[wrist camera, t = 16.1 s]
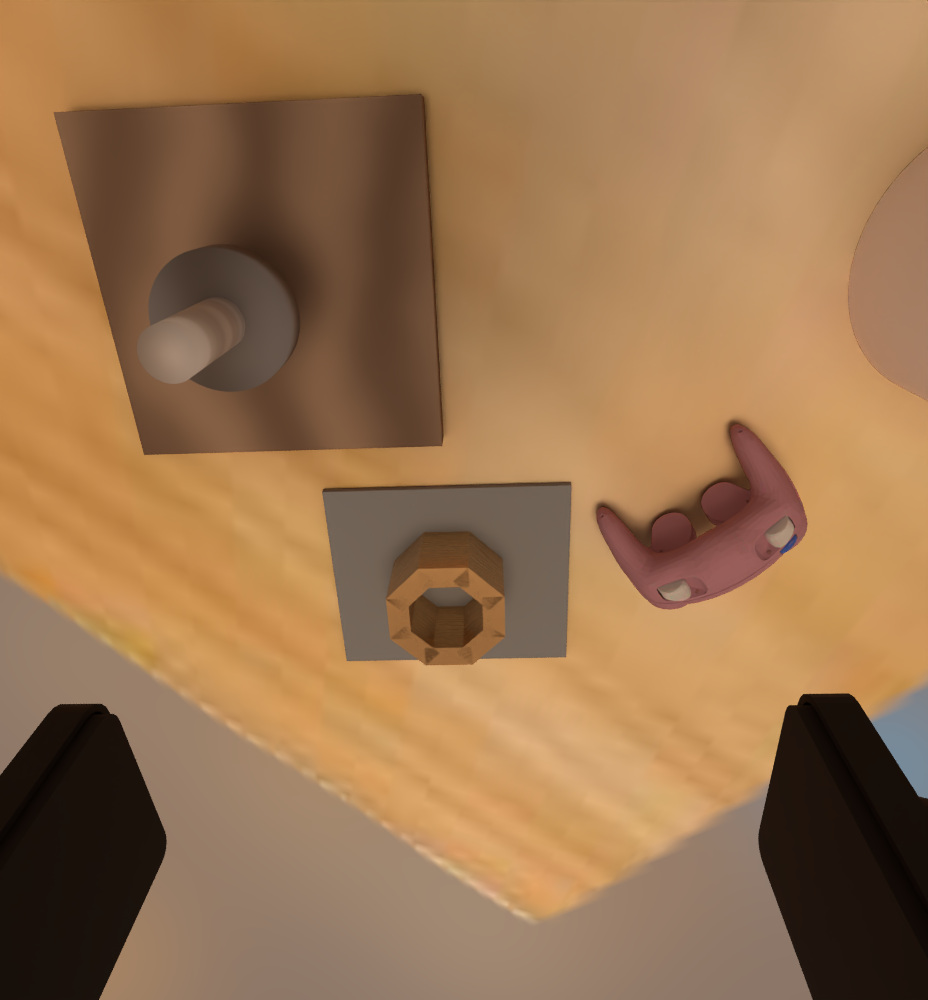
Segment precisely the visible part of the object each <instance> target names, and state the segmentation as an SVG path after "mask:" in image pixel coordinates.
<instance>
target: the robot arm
mask: <svg viewBox="0 0 928 1000" xmlns="http://www.w3.org/2000/svg"><path fill="white" fill-rule="evenodd" d="M758 839H759V850H760V854H761V858H762V861H763V865H764V867H765V870H766V873H767V875H768V878H769V881H770V884H771V887H772V889H773V892H774V895H775V897H776V900H777V903H778V906H779V908H780V911H781V914H782V916H783V919H784V922H785V925H786V928H787V930H788V933H789V936H790V938H791V941H792V944H793V947H794V949H795V952H796V955H797V957H798V960H799V963H800V966H801V968H802V971H803V974H804V976H805V979H806V982H807V985H808V988H809V990H810V993H811V996H812V999H813V1000H928V799H927V798H922V797H918V795H917V793H916V792H915V790H914V789H913V787H912V786H911V784H910V783H909V781H908V779H907V778H906V776H905V775H904V773H903V771H902V770H901V769H900V767H899V765H898V764H897V762H896V761H895V759H894V757H893V756H892V754H891V753H890V751H889V750H888V748H887V746H886V745H885V743H884V742H883V740H882V739H881V737H880V735H879V734H878V732H877V731H876V730H875V728H874V726H873V724H872V723H871V721H870V720H869V718H868V717H867V715H866V714H865V712H864V710H863V709H862V707H861V706H860V704H859V703H858V701H857V700H856V699H855V698H854V697H853V696H852V695H850V694H849V693H848V694H803V695H802V696H801V697H800V699H799V702H798V705H789V706H788V707H787V709H786V712H785V716H784V721H783V725H782V730H781V734H780V739H779V743H778V748H777V752H776V757H775V761H774V766H773V770H772V775H771V779H770V784H769V788H768V793H767V797H766V802H765V807H764V811H763V815H762V820H761V825H760V829H759V838H758ZM165 851H166V834H165V831H164V828H163V826H162V823H161V821H160V818H159V816H158V813H157V811H156V809H155V806H154V804H153V801H152V799H151V796H150V794H149V791H148V789H147V787H146V784H145V781H144V779H143V777H142V774H141V772H140V769H139V767H138V764H137V762H136V759H135V757H134V755H133V752H132V750H131V747H130V745H129V742H128V740H127V737H126V735H125V732H124V730H123V728H122V725H121V723H120V721H119V719H118V717H117V716H116V715H114V714H110V712H109V711H108V709H107V708H106V706H104V705H102V704H60V705H58V706H56V707H54V708H53V709H52V710H51V711H50V713H48V714H47V716H46V717H45V718H44V720H43V721H42V722H41V723H40V725H39V726H38V727H37V729H36V730H35V731H34V733H33V734H32V735H31V736H30V738H29V739H28V740H27V742H26V743H25V744H24V746H23V747H22V748H21V749H20V751H19V752H18V753H17V754H16V756H15V757H14V758H13V760H12V761H11V762H10V764H9V765H8V766H7V768H6V769H5V770H4V771H3V773H2V774H1V775H0V1000H99V998H100V996H101V994H102V992H103V990H104V987H105V985H106V983H107V981H108V979H109V977H110V974H111V972H112V970H113V968H114V966H115V963H116V961H117V959H118V957H119V955H120V953H121V950H122V948H123V946H124V944H125V942H126V939H127V937H128V935H129V933H130V931H131V929H132V926H133V924H134V922H135V920H136V918H137V915H138V913H139V911H140V909H141V907H142V905H143V902H144V900H145V898H146V896H147V894H148V892H149V889H150V887H151V885H152V883H153V880H154V879H155V876H156V874H157V872H158V870H159V868H160V865H161V863H162V860H163V858H164V855H165Z"/></svg>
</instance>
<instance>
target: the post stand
mask: <svg viewBox="0 0 928 1000" xmlns="http://www.w3.org/2000/svg"><path fill="white" fill-rule="evenodd" d="M54 116H55V120H56V124H57V127H58V131H59V135H60V139H61V142H62V146H63V150H64V154H65V158H66V161H67V165H68V169H69V173H70V176H71V180H72V184H73V188H74V191H75V195H76V199H77V203H78V207H79V210H80V214H81V218H82V222H83V225H84V229H85V233H86V237H87V241H88V244H89V248H90V252H91V256H92V259H93V263H94V267H95V271H96V274H97V278H98V282H99V286H100V290H101V293H102V297H103V301H104V305H105V308H106V312H107V316H108V320H109V324H110V327H111V331H112V335H113V339H114V342H115V346H116V350H117V354H118V358H119V361H120V365H121V369H122V373H123V376H124V380H125V384H126V388H127V391H128V395H129V399H130V403H131V407H132V410H133V414H134V418H135V422H136V425H137V429H138V433H139V437H140V441H141V444H142V448H143V452H144V455H155V454H189V453H222V452H256V451H290V450H324V449H357V448H391V447H425V446H442V443H443V419H442V401H441V384H440V366H439V349H438V331H437V314H436V296H435V279H434V261H433V244H432V226H431V209H430V191H429V174H428V156H427V139H426V121H425V104H424V97H423V95H422V94H415V95H394V96H374V97H354V98H334V99H313V100H293V101H273V102H253V103H232V104H212V105H192V106H172V107H151V108H131V109H111V110H91V111H70V112H54Z"/></svg>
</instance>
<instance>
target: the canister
mask: <svg viewBox="0 0 928 1000" xmlns="http://www.w3.org/2000/svg"><path fill="white" fill-rule="evenodd" d="M848 301H849V313H850V319H851V324H852V328H853V331H854V334H855V337H856V339H857V342H858V344H859V346H860V348H861V350H862V352H863V353H864V355H865V356H866V358H867V359H868V360H869V362H870V363H871V364H872V365H873V366H874V368H875V369H876V370H877V371H878V372H880V373H881V374H882V375H883V376H884V377H886V378H887V379H888V380H890V381H891V382H893V383H895V384H896V385H898V386H900V387H902V388H904V389H906V390H908V391H910V392H911V393H913V394H915V395H917V396H919V397H921V398H923V399H925V400H927V401H928V147H927V148H926V149H925V150H924V151H923V152H922V153H920V154H919V155H918V156H917V157H916V158H915V159H914V160H913V161H912V162H911V163H910V164H909V165H908V166H907V167H906V168H905V169H904V170H903V171H902V172H901V173H900V174H899V176H898V177H897V178H896V179H895V180H894V182H893V183H892V184H891V185H890V187H889V188H888V189H887V191H886V192H885V193H884V195H883V196H882V198H881V199H880V201H879V202H878V204H877V206H876V207H875V209H874V211H873V212H872V214H871V216H870V218H869V220H868V222H867V224H866V226H865V228H864V230H863V232H862V235H861V237H860V240H859V242H858V245H857V248H856V251H855V255H854V258H853V262H852V267H851V272H850V279H849V291H848Z"/></svg>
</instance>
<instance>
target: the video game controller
mask: <svg viewBox="0 0 928 1000" xmlns="http://www.w3.org/2000/svg"><path fill="white" fill-rule="evenodd" d="M730 436H731V440H732V444H733V447H734V450H735V453H736V455H737V457H738V459H739V461H740V464H741V466H742V468H743V470H744V473H745V474H746V476H747V478H748V480H749V482H750V487H751V488H750V490H746V489H743V488H741V487H739V486H736V485H734V484H732V483H728V482H721V483H717V484H715V485H713V486H711V487H710V488H709V489H708V490H707V491H706V492H705V493H704V495H703V497H702V500H701V506H702V509H703V511H704V512H705V514H706V516H707V517H708V519H709V520H710V521H711V522H712V523H713V524H715V525H717V526H716V527H714V528H713V529H711V530H709V531H707V532H706V533H704V534H702V535H701V536H699V537H697V538H696V533H695V530H694V528H693V527H692V524H691V523H690V521H689V519H688V518H687V517H686V516H685V515H683V514H681V513H668V514H665V515H663V516H661V517H660V518H658V519H657V520H656V521H655V523H654V525H653V527H652V542H651V547H650V548H648V547H646V546H645V545H643V544H642V543H641V542H640V541H638V540H637V539H636V537H635V536H634V535H633V534H632V533H631V531H630V530H629V529H628V528H627V527H626V525H625V524H624V523H623V522H622V521H621V520H620V519H619V518H618V517H617V516H616V515H615V514H614V513H613V512H612V511H610V510H609V509H608V508H605V507H601V508H599V509H598V511H597V522H598V525H599V528H600V531H601V533H602V535H603V537H604V539H605V541H606V542H607V544H608V546H609V548H610V550H611V552H612V554H613V556H614V557H615V559H616V561H617V563H618V564H619V566H620V567H621V569H622V570H623V571H624V573H625V574H626V575H627V576H628V578H629V579H630V581H631V582H632V583H633V585H634V586H635V587H636V589H637V590H638V591H639V592H640V593H641V595H642V596H643V597H644V598H645V599H647V600H648V601H649V602H650V603H651V604H653V605H654V606H656V607H658V608H662V609H677V608H681V607H683V606H685V605H687V604H691V603H697V602H701V601H705V600H709V599H712V598H715V597H718V596H720V595H723V594H725V593H728V592H730V591H732V590H734V589H736V588H738V587H740V586H742V585H743V584H745V583H747V582H748V581H750V580H752V579H753V578H755V577H757V576H758V575H759V574H761V573H762V572H763V571H765V570H766V569H767V568H768V567H770V566H771V565H772V564H774V563H775V562H776V561H777V560H778V559H779V558H780V557H781V556H782V555H783V554H784V553H785V552H787V551H788V550H791V549H792V548H793V547H795V546H796V545H797V544H798V543H799V542H800V541H801V540H802V538H803V537H804V535H805V533H806V530H807V518H806V515H805V511H804V508H803V504H802V502H801V499H800V497H799V495H798V493H797V490H796V488H795V487H794V485H793V483H792V481H791V479H790V478H789V476H788V475H787V473H786V472H785V470H784V469H783V467H782V466H781V465H780V463H779V462H778V461H777V460H776V459H775V457H774V456H773V455H772V454H771V453H770V451H769V450H768V449H767V448H766V447H765V445H764V444H763V443H762V442H761V440H760V439H759V438H758V437H757V436H756V435H755V434H754V433H753V432H752V431H750V430H749V429H748V428H746V427H744V426H742V425H738V424H735V425H733V426H732V427H731V430H730Z"/></svg>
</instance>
